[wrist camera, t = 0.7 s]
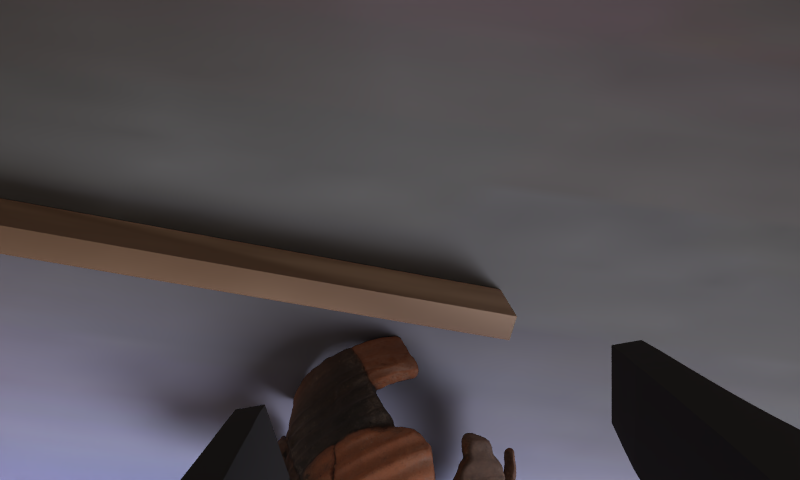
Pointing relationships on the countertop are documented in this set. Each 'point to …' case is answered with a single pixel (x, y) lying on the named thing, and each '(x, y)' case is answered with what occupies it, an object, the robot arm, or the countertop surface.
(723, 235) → the countertop surface
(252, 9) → the countertop surface
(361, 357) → the brown jagged ring
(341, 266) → the wooden bracket
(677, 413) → the robot arm
